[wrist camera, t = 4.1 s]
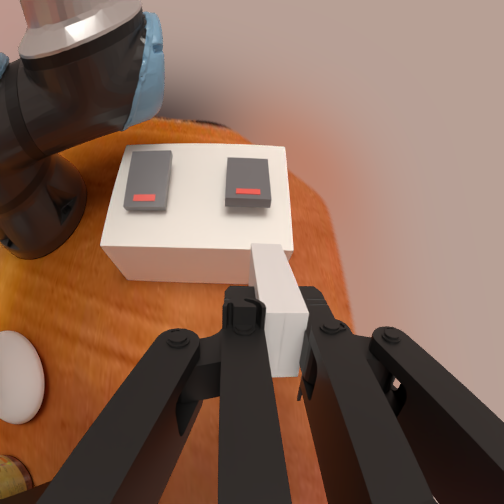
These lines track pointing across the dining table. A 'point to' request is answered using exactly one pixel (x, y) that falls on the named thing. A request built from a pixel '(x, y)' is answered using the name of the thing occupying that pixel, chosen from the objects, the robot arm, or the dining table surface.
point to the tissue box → (26, 496)
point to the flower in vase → (19, 378)
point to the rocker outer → (247, 183)
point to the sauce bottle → (13, 477)
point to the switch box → (197, 218)
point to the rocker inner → (148, 180)
